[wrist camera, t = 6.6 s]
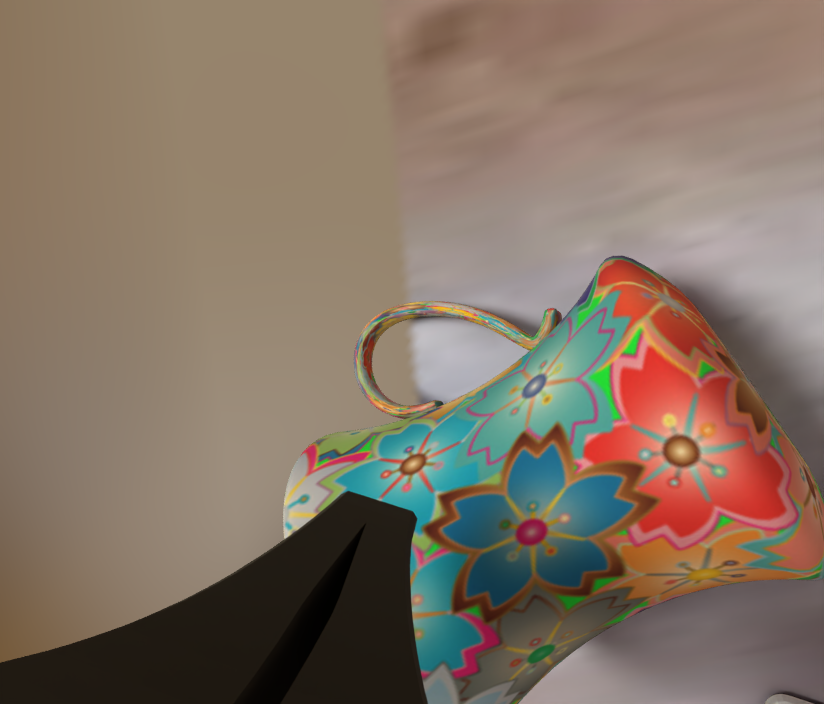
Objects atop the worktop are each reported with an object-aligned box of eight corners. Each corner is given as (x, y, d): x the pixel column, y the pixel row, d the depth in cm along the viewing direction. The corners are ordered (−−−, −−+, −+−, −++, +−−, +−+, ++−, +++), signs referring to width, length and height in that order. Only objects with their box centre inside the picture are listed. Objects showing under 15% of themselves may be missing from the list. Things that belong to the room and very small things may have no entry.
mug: (895, 604, 10) (367, 821, 14) (876, 560, 18) (537, 708, 22) (526, 71, 15) (207, 338, 19) (634, 215, 23) (392, 384, 27)
